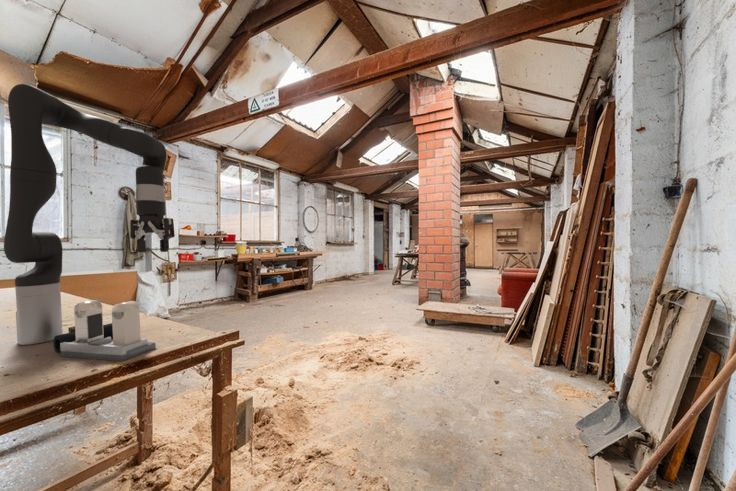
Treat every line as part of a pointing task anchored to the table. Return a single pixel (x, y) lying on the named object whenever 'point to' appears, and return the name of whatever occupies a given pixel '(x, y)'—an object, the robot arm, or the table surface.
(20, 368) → the table surface
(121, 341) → the finger
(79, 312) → the bracket
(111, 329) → the pipe connector
